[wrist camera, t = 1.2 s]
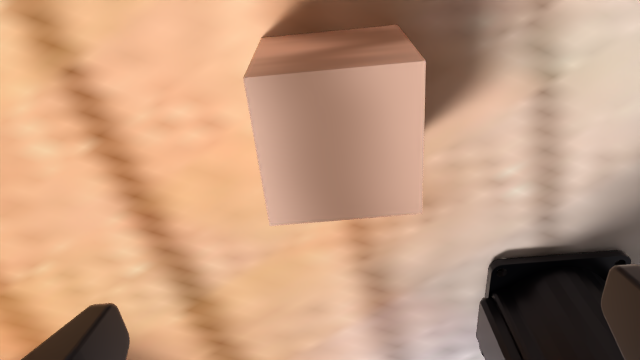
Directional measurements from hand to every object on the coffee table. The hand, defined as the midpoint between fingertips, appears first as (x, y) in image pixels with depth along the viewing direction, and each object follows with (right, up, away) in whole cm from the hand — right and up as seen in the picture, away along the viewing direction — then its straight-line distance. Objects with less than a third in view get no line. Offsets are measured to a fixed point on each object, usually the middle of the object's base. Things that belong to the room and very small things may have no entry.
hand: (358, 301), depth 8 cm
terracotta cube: (0, +6, +10) cm, 11 cm away
